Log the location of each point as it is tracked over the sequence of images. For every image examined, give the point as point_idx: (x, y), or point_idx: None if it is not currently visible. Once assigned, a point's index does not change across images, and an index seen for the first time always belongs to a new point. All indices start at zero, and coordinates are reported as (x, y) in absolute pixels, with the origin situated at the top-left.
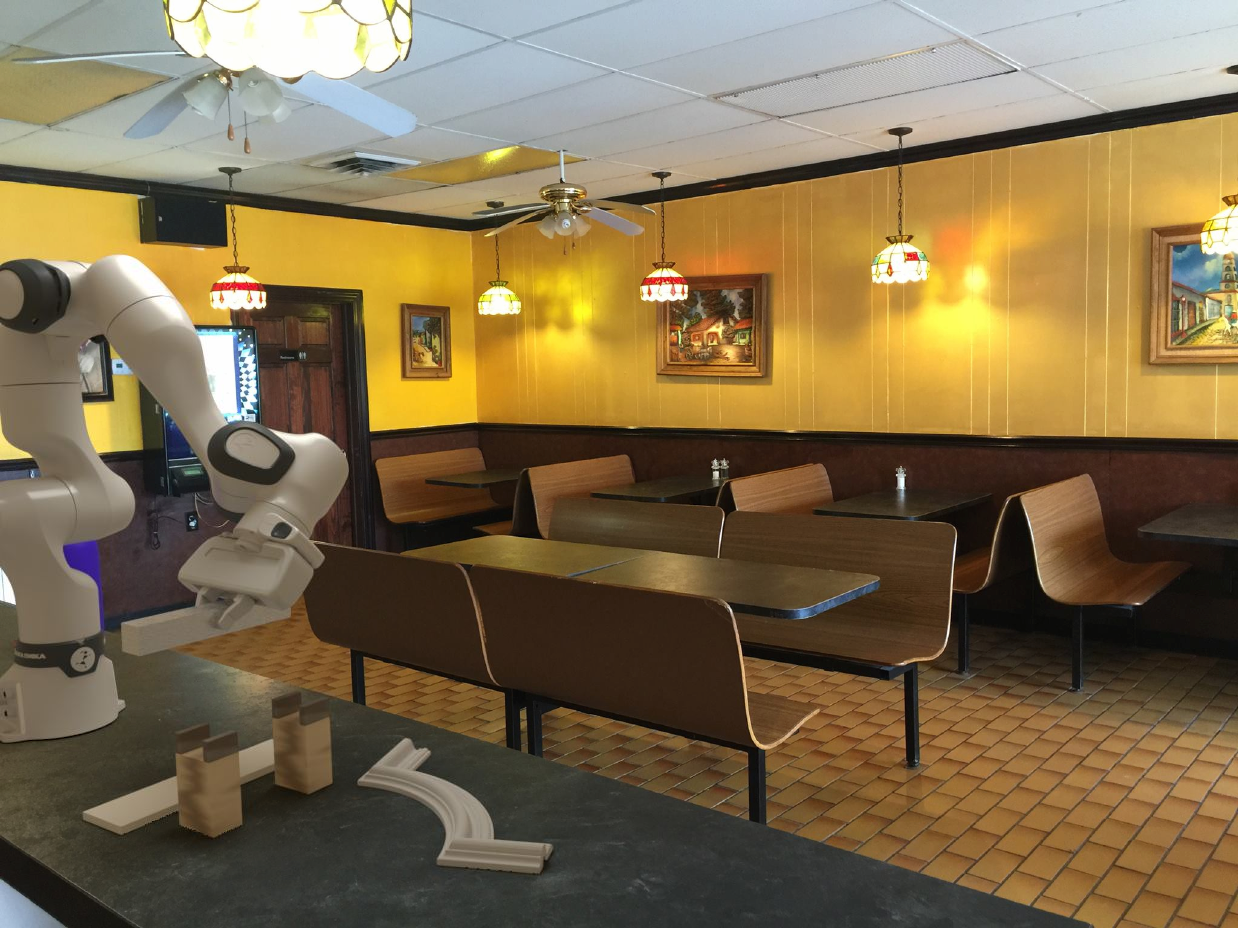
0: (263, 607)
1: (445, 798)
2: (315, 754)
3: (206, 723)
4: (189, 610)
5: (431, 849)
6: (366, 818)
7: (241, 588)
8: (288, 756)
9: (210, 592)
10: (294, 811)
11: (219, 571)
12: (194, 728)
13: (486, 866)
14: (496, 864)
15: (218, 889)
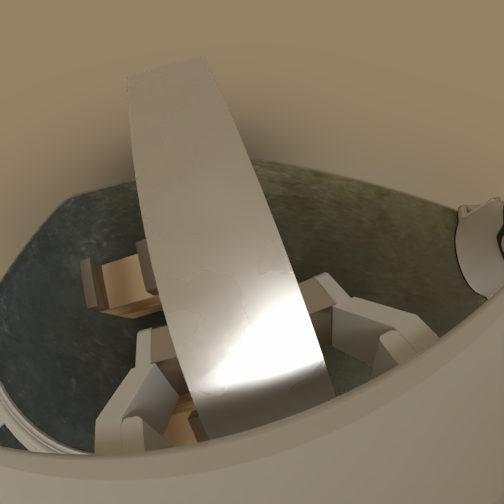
0: None
1: (49, 449)
2: None
3: (151, 288)
4: (224, 230)
5: (15, 395)
6: (76, 403)
7: (86, 463)
8: (181, 402)
9: (387, 370)
10: (127, 369)
11: (439, 449)
12: (142, 266)
13: None
14: None
15: (51, 256)
